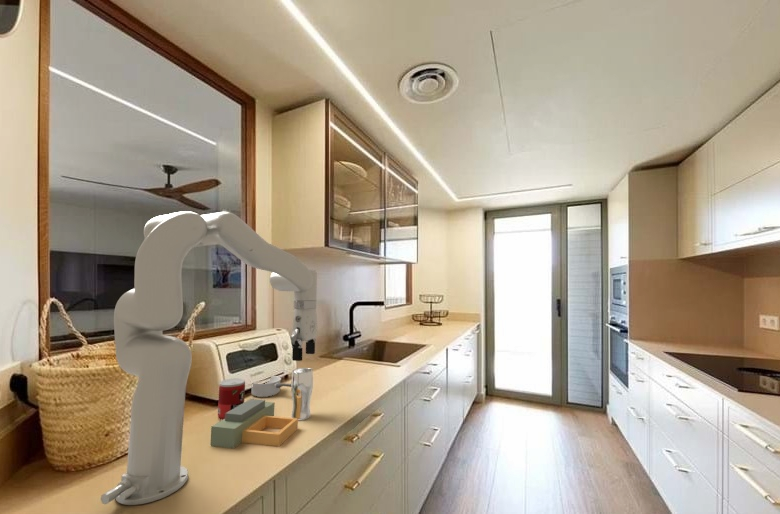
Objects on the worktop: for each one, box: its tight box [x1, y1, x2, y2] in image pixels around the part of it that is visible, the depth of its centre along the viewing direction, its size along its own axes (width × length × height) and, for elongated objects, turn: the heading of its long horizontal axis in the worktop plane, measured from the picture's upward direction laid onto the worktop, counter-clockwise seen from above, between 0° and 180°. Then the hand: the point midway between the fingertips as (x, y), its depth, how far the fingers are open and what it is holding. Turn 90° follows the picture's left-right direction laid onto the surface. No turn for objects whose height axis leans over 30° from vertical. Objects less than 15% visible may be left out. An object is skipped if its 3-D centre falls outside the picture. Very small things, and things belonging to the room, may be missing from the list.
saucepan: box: [250, 375, 291, 398], centre depth 128 cm, size 12×20×6 cm, turn 62°
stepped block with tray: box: [209, 398, 299, 449], centre depth 96 cm, size 20×18×7 cm
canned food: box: [217, 377, 246, 420], centre depth 108 cm, size 8×8×11 cm
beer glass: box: [290, 367, 314, 422], centre depth 108 cm, size 7×7×15 cm
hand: (304, 356), depth 109 cm, fingers open, 9 cm apart
